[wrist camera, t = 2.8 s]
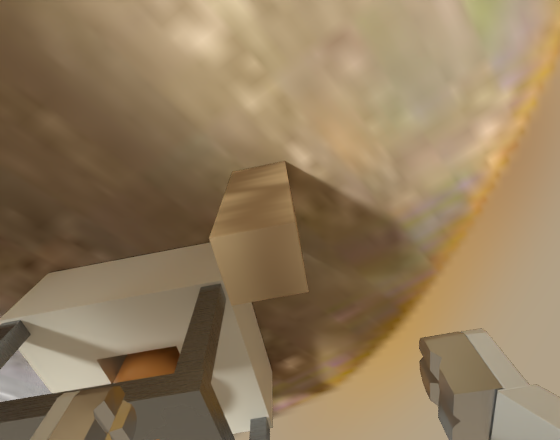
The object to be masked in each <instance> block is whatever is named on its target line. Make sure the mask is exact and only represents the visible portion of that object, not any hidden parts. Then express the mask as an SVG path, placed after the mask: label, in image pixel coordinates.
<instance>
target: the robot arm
mask: <svg viewBox="0 0 560 440" xmlns="http://www.w3.org/2000/svg"><path fill="white" fill-rule="evenodd" d="M419 349H420V351H421V353H422V355H423V358H422V359H421V360H420V372H421V377H422V381H423V384H424V386H425V389H426V392H427V394H428V396H429V398H430V400H431V401H432V402H434V403H435V404H436V405H438V409H439V410H438V412H439V413H438V416H439V417H438V418H439V420H440V422H441V424H442V426H443V428H444V430H445V432H446V435H447V437H448V439H449V440H560V397H559V396H557V395H555V394H553V393H551V392H550V391H548V390H546V389H544V388H542V387H541V386H539V385H529V383H528V382H527V381H526V380H525V379H524V377H523V376H522V375H521V374H520V372H519V371H518V370H517V369H516V367H515V366H514V365H513V364H512V362H511V361H510V360H509V359H508V358H507V356H506V355H505V354H504V353H503V351H502V350H501V349H500V348H499V347H498V345H497V344H496V343H495V341H494V340H493V339H492V338H491V337H490V335H489V334H488V333H487V332H486V331H485V330H483V329H482V328H480V329H474V330H468V331H461V332H453V333H447V334H442V335H436V336H430V337H424V338H421V339H420V341H419ZM124 396H125V393H124V391H123V390H122V388H121V387H120V386H114V387H106V388H98V389H90V390H82V391H76V392H69V393H64V394H62V395H61V396H60V397H58V398H57V399H56V401H55V402H54V404H53V405H52V407H51V409H50V410H49V412H48V413H47V415H46V416H45V418H44V419H43V421H42V422H41V424H40V425H39V427H38V428H37V430H36V431H35V433H34V434H33V436H32V437H31V439H30V440H133V437H134V434H135V432H136V424H137V416H136V412H135V409H134V407H133V406H132V404H130V403H128V402H126V401H124V400H123V399H124Z"/></svg>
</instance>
